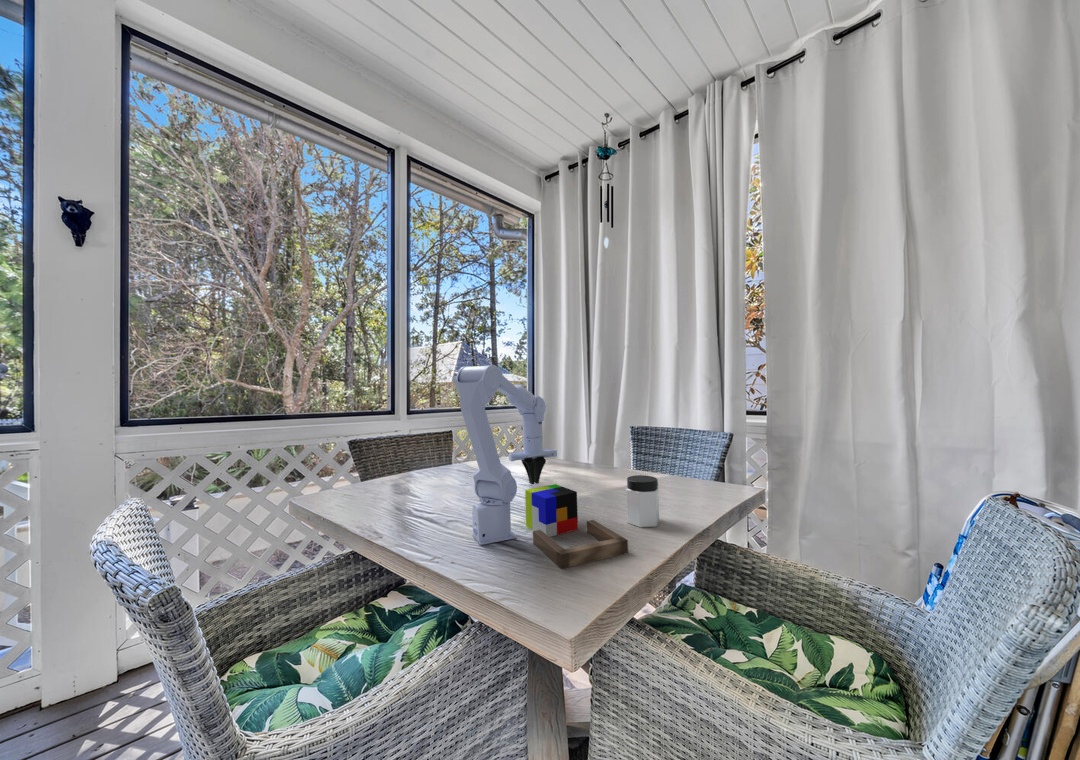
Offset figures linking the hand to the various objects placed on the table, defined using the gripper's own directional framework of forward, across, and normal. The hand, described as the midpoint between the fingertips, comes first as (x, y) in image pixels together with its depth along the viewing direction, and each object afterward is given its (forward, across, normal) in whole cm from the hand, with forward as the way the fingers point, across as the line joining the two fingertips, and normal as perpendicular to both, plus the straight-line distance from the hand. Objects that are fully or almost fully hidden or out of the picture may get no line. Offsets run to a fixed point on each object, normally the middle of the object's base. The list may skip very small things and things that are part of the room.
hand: (534, 483), depth 121 cm
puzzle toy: (+10, 0, +12) cm, 15 cm away
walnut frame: (+9, 0, +26) cm, 27 cm away
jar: (+10, -24, +20) cm, 32 cm away
